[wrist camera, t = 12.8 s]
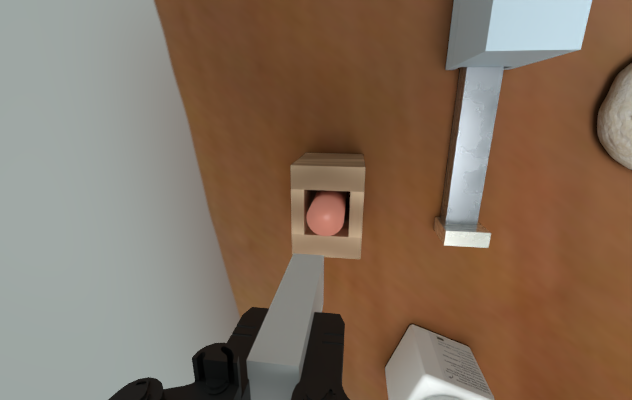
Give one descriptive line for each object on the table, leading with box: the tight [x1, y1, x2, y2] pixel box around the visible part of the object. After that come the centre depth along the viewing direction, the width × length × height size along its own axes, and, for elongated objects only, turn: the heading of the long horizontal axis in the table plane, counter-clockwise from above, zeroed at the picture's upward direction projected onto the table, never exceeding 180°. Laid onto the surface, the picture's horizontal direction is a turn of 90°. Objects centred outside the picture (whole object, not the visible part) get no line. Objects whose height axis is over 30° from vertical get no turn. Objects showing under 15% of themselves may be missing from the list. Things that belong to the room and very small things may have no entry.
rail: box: [434, 67, 504, 248], centre depth 27 cm, size 24×4×4 cm, turn 179°
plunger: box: [307, 190, 347, 236], centre depth 27 cm, size 3×3×8 cm
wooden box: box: [291, 153, 365, 259], centre depth 29 cm, size 8×6×8 cm
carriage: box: [446, 0, 592, 70], centre depth 22 cm, size 6×6×9 cm
